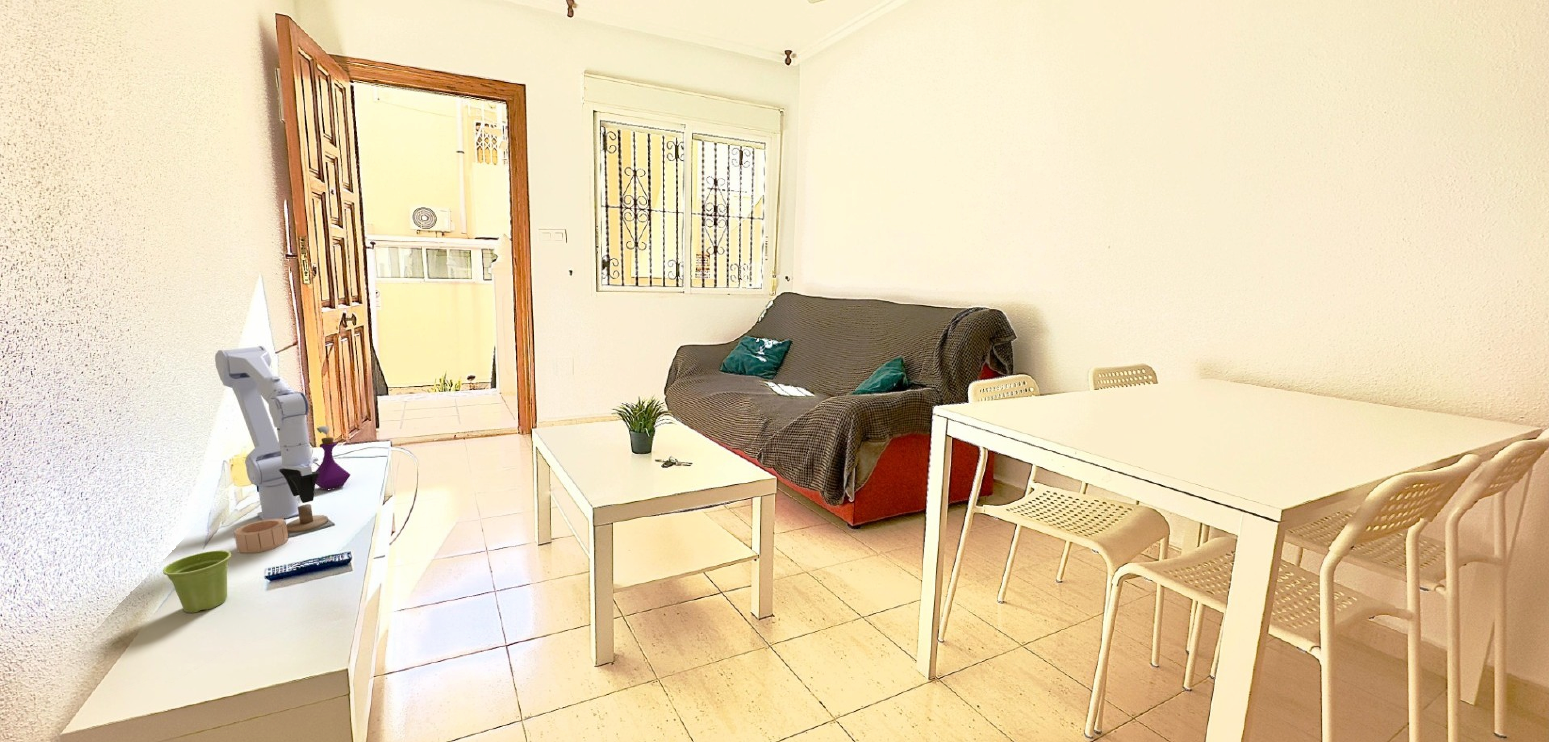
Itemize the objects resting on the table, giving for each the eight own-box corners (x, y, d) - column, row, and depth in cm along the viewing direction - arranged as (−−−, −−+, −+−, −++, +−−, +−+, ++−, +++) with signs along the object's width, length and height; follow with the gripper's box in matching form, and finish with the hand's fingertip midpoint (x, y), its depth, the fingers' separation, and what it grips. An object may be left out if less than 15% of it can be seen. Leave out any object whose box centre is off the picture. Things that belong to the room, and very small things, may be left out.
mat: (280, 527, 155) (279, 526, 155) (323, 516, 162) (323, 514, 162) (289, 537, 149) (289, 535, 149) (334, 525, 156) (334, 523, 156)
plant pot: (198, 620, 114) (190, 575, 112) (157, 616, 116) (148, 571, 114) (251, 594, 123) (243, 551, 122) (212, 590, 125) (204, 548, 123)
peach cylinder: (233, 546, 145) (230, 528, 144) (282, 533, 152) (279, 515, 151) (242, 557, 139) (239, 538, 139) (292, 543, 146) (289, 524, 145)
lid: (281, 526, 155) (278, 507, 154) (322, 515, 161) (319, 497, 161) (290, 535, 150) (287, 515, 149) (332, 523, 156) (329, 504, 155)
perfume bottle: (352, 485, 185) (343, 425, 182) (323, 493, 179) (314, 431, 176) (340, 481, 189) (331, 422, 186) (311, 489, 183) (302, 428, 180)
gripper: (323, 444, 150) (331, 499, 153) (306, 435, 160) (314, 487, 162) (287, 451, 145) (296, 508, 147) (271, 442, 155) (279, 495, 157)
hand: (303, 498), depth 154 cm, fingers open, 7 cm apart
